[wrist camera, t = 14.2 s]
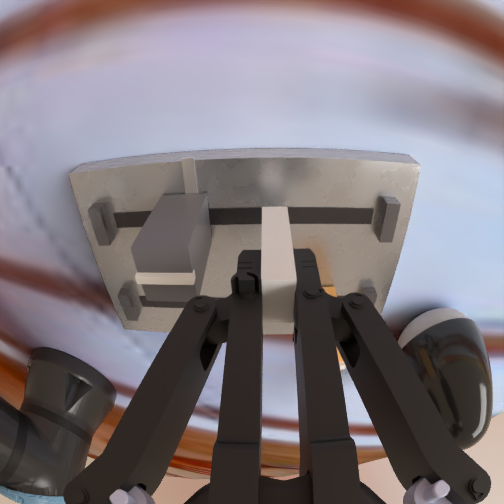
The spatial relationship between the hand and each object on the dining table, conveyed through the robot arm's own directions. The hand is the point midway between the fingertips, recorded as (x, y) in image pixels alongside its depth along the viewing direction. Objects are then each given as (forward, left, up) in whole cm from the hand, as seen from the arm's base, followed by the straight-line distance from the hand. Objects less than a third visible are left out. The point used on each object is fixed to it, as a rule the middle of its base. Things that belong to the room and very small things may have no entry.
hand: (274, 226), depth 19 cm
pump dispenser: (+18, -15, -4) cm, 23 cm away
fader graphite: (-6, 0, -2) cm, 6 cm away
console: (-2, -4, -4) cm, 6 cm away
